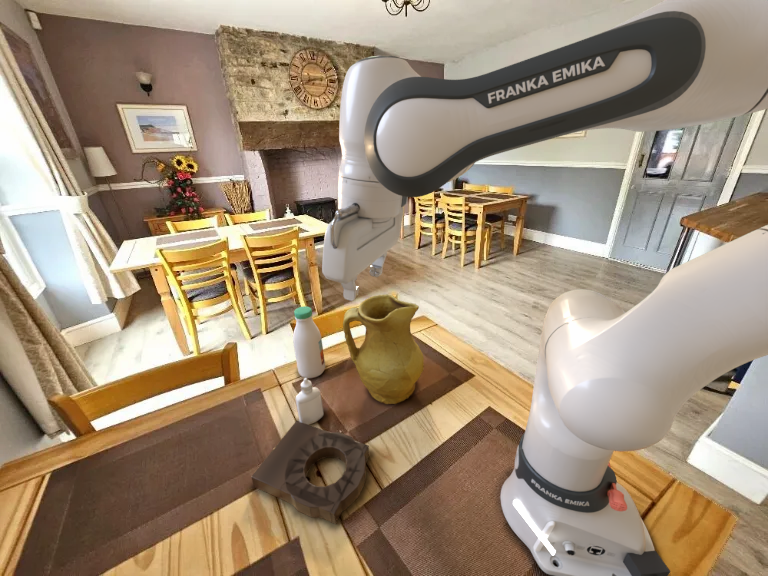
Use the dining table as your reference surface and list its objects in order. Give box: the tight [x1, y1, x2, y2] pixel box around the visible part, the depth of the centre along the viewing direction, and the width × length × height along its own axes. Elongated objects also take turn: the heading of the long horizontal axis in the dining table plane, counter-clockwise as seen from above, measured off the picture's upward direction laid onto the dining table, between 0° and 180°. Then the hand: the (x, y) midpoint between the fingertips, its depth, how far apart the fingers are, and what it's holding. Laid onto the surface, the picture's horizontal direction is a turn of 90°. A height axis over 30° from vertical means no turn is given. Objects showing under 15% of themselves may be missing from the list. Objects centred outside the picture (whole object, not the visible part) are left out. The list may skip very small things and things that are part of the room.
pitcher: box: [342, 293, 425, 405], centre depth 79 cm, size 17×19×25 cm
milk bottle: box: [292, 305, 326, 379], centre depth 86 cm, size 8×8×20 cm
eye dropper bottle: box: [295, 377, 325, 425], centre depth 72 cm, size 4×6×12 cm
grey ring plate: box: [250, 420, 370, 525], centre depth 61 cm, size 20×15×3 cm
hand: (364, 285), depth 50 cm, fingers open, 8 cm apart
